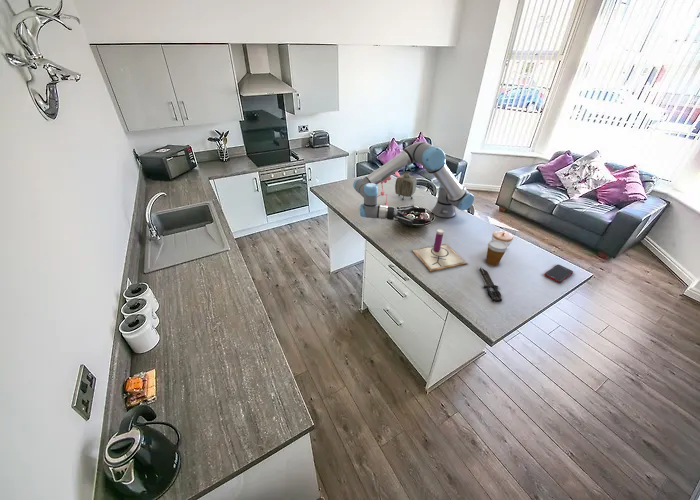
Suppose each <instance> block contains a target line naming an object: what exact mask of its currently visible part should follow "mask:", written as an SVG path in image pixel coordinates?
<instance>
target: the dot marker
mask: <svg viewBox="0 0 700 500" xmlns="http://www.w3.org/2000/svg"><path fill="white" fill-rule="evenodd" d="M444 233H445V231H444V230H443V229H436V234H435V239H434V244H433V246H434V251H435V252H439V251H440V247H441V245H442V241H443V236H444Z"/></svg>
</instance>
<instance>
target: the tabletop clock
mask: <svg viewBox="0 0 700 500" xmlns="http://www.w3.org/2000/svg"><path fill="white" fill-rule="evenodd" d="M404 169H407V171H405V170H404ZM408 170H410V171H409V172H408ZM402 172H403V174H401V175H400V177H398V176H397V177H396V179H395V184H394V192H395V195H397V196H398V197H400V196H402V198H401V200H402V201H404V200H405V197H406V198H410V199H411V200H413V199H414V197H413V195H414V194H415V193H416V190H417V183H418V182H417V181H418V180H417V177H415V176H413V175H410V174H412V173H413V171H412V169H411V168H410V167H407V166H404V167H403V168H402Z"/></svg>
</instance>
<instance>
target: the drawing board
mask: <svg viewBox="0 0 700 500" xmlns="http://www.w3.org/2000/svg"><path fill="white" fill-rule="evenodd" d="M412 253H413V254H414V255H415V256H416V258H417V259H418V260H419V261H420V262H421V263H422V265H424V266H425V267H426V269H427V270H428V271H429V272H430V273H432V272H437V271H442V270H446V269H451V268H455V267H460V266H464V265H465V266H466V265H467V264H468V263H467V261H465V260H464V259H463V258H462V257H461V256H460V255H459V254H457V252H455V251H454V250H453V249H452V248H451V247H450V246H449V245H448V244H447V243H445V244H441V247H440V251H439V252H435V251H434V245H433V246H428V247H423V248H418V249H413V250H412Z"/></svg>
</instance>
